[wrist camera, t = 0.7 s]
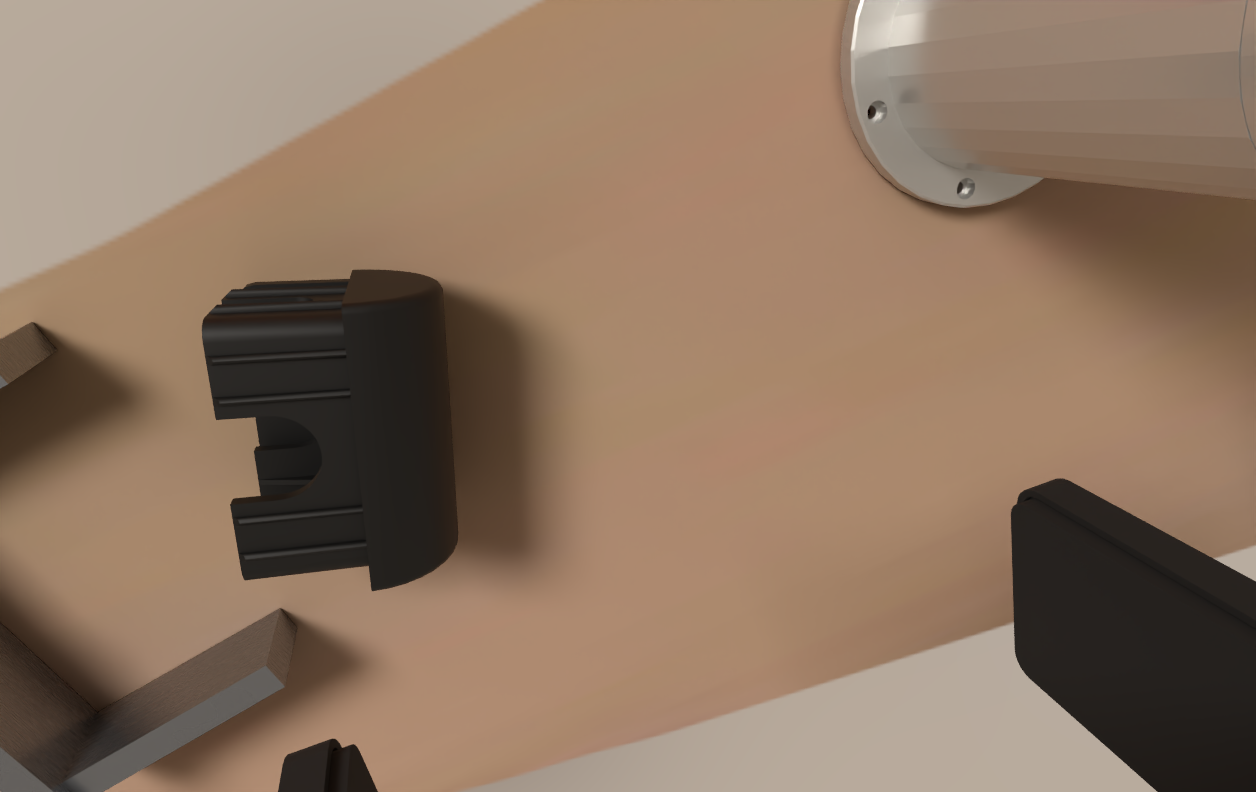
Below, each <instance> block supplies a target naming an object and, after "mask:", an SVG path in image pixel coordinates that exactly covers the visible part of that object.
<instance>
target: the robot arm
mask: <svg viewBox="0 0 1256 792" xmlns="http://www.w3.org/2000/svg"><path fill="white" fill-rule="evenodd" d="M840 72H841V82H842V92H843V100H844V104H845V107H846V111H847V114H848V118H849V121H850V125H851V128H852V130H853V132H854V134H855V137H856V139H857V141H858V143H859V145H860V147H861V149H862V151H863V153H864V154H865V155H866V157H867V158H868V159H869V161H870V162H871V163H872V164H873V166H874V167H875V168H876V169H877V171H878V172H879V173H880V174H881V175H882V176H883V177H884V178H886V179H887V180H888V181H889V182H890V183H892V184H893V185H894V186H895V187H896V188H898V189H899V190H901V191H903V192H905V193H907V194H909V195H911V196H913V197H915V198H917V199H919V200H922V201H927V202H931V203H935V204H940V205H945V206H952V207H960V208H969V207H977V206H985V205H992V204H995V203H998V202H1000V201H1003V200H1006V199H1009V198H1012V197H1015V196H1017V195H1018V194H1020V193H1022V192H1024V191H1025V190H1027V189H1029V188H1031V187H1032V186H1034V185H1036V184H1038V183H1039V182H1040V181H1041V180H1043V179H1044V178H1052V179H1062V180H1071V181H1081V182H1090V183H1100V184H1109V185H1119V186H1128V187H1137V188H1147V189H1156V190H1166V191H1175V192H1185V193H1194V194H1204V195H1213V196H1222V197H1232V198H1241V199H1251V200H1256V0H850V1H849V5H848V10H847V15H846V19H845V24H844V28H843V33H842V44H841V61H840ZM869 108H870V115H869V117H868V112H867V111H868V109H869ZM1011 533H1012V567H1013V602H1014V634H1015V635H1014V636H1015V654H1016V657H1017V660H1018V663H1019V665H1020V667H1021V668H1022V670H1023V671H1024V673H1025V674H1026V675H1027V676H1028V677H1029V678H1030V679H1031V680H1032V681H1033V682H1034V683H1035V684H1037V685H1038V686H1039V687H1040V688H1041V689H1042V690H1043V691H1044V692H1046V693H1047V694H1048V695H1049V696H1050V697H1051V698H1052V699H1053V700H1055V701H1056V702H1057V703H1058V704H1059V705H1060V706H1061V707H1062V708H1064V709H1065V710H1066V711H1067V712H1068V713H1069V714H1070V715H1071V716H1073V717H1074V718H1075V719H1076V720H1077V721H1078V722H1079V723H1081V724H1082V725H1083V726H1084V727H1085V728H1086V729H1087V730H1088V731H1090V732H1091V733H1092V734H1093V735H1094V736H1095V737H1096V738H1098V739H1099V740H1100V741H1101V742H1102V743H1103V744H1104V745H1105V746H1106V747H1108V748H1109V749H1110V750H1111V751H1112V752H1113V753H1114V754H1115V755H1117V756H1118V757H1119V758H1120V759H1121V760H1122V761H1123V762H1125V763H1126V764H1127V765H1128V766H1129V767H1130V768H1131V769H1132V770H1134V771H1135V772H1136V773H1137V774H1138V775H1139V776H1140V777H1141V778H1143V779H1144V780H1145V781H1146V782H1147V783H1148V784H1149V785H1150V786H1152V787H1153V788H1154V789H1155V790H1156V791H1157V792H1256V581H1254V580H1252V579H1250V578H1248V577H1246V576H1244V575H1243V574H1241V573H1239V572H1237V571H1235V570H1233V569H1231V568H1230V567H1228V566H1226V565H1224V564H1222V563H1220V562H1219V561H1217V560H1215V559H1213V558H1211V557H1209V556H1207V555H1206V554H1204V553H1202V552H1200V551H1198V550H1196V549H1194V548H1193V547H1191V546H1189V545H1187V544H1185V543H1183V542H1182V541H1180V540H1178V539H1176V538H1174V537H1172V536H1170V535H1169V534H1167V533H1165V532H1163V531H1161V530H1159V529H1157V528H1156V527H1154V526H1152V525H1150V524H1148V523H1146V522H1145V521H1143V520H1141V519H1139V518H1137V517H1135V516H1133V515H1132V514H1130V513H1128V512H1126V511H1124V510H1122V509H1121V508H1119V507H1117V506H1115V505H1113V504H1111V503H1109V502H1108V501H1106V500H1104V499H1102V498H1100V497H1098V496H1096V495H1095V494H1093V493H1091V492H1089V491H1087V490H1085V489H1084V488H1082V487H1080V486H1078V485H1076V484H1074V483H1072V482H1071V481H1068V480H1065V479H1055V480H1052V481H1049V482H1046V483H1043V484H1041V485H1038V486H1035V487H1032V488H1030V489H1027V490H1024V491H1023V492H1021V493H1020V495H1019V497H1018V501H1017V504H1016V505H1015V506H1013V508H1012V511H1011ZM278 792H378V791H377V789H376V787H375V784H374V782H373V780H372V778H371V776H370V773H369V771H368V769H367V767H366V765H365V762H364V760H363V758H362V756H361V753H360V751H359V750H358V748H357V746H356V745H354V744H352V745H349V746H347V747H344V748H342V747H341V745H340V743H339V742H338V741H337V740H336V739H330V740H327V741H324V742H322V743H319V744H316V745H313V746H310V747H308V748H305V749H302V750H299V751H297V752H294V753H291V754H288V755H287V756H286V757H285V759H284V763H283V767H282V773H281V778H280V784H279V790H278Z"/></svg>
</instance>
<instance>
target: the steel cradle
mask: <svg viewBox="0 0 1256 792" xmlns="http://www.w3.org/2000/svg"><path fill="white" fill-rule="evenodd" d="M56 351H57V350H56V349H55V348H54V346H53V345H52V344H51V343H50V342H49V341H48V340H47V338H46V337H45V336H44V335H43V334H42V333H41V331H40V330H39V329H38V328H37V327H36V326H35V325H34V323H33V322H31V323H29V324H27V325H25V326H24V327H22V328H20V329H18V330H16V331H14V332H12V333H10V334H9V335H7V336H5V337H3V338H1V339H0V388H2V387H4V386H6V385H8V384H9V383H11V382H12V381H14V380H15V379H17V378H18V377H19V376H21V375H22V374H24V373H25V372H27V371H28V370H30V369H31V368H33V367H34V366H35V365H37V364H38V363H40V362H41V361H43V360H44V359H46V358H47V357H49V356H50V355H52V354H53V353H54V352H56ZM296 632H297V627H296V626H295V625H294V624H293V622H292V621H291V620H290V619H289V618H288V617H287V616H286V614H285V613H284V612H283V611H282V610H281V609H278V610H276V611H275V612H273V613H271V614H269V615H268V616H266V617H264V618H262V619H261V620H259V621H257V622H255V623H254V624H252V625H250V626H248V627H247V628H245V629H243V630H241V631H240V632H238V633H236V634H234V635H232V636H231V637H229V638H227V639H225V640H224V641H222V642H220V643H218V644H217V645H215V646H213V647H211V648H210V649H208V650H206V651H204V652H203V653H201V654H199V655H197V656H196V657H194V658H192V659H190V660H189V661H187V662H185V663H183V664H182V665H180V666H178V667H176V668H175V669H173V670H171V671H169V672H168V673H166V674H164V675H162V676H161V677H159V678H157V679H155V680H154V681H152V682H150V683H148V684H146V685H145V686H143V687H141V688H139V689H138V690H136V691H134V692H132V693H131V694H129V695H127V696H125V697H124V698H122V699H120V700H118V701H117V702H115V703H113V704H111V705H110V706H108V707H106V708H104V709H103V710H101V711H99V712H96V711H95V710H94V709H93V708H92V707H91V706H90V705H89V704H88V703H87V702H86V701H84V700H83V699H82V698H81V697H80V696H79V695H78V694H77V693H76V692H75V691H74V690H73V689H71V688H70V687H69V686H68V685H67V684H66V683H65V682H64V681H63V680H62V679H61V678H60V677H59V676H57V675H56V674H55V673H54V672H53V671H52V670H51V669H50V668H49V667H48V666H47V665H46V664H44V663H43V662H42V661H41V660H40V659H39V658H38V657H37V656H36V655H35V654H34V653H33V652H31V651H30V650H29V649H28V648H27V647H26V646H25V645H24V644H23V643H22V642H21V641H20V640H18V639H17V638H16V637H15V636H14V635H13V634H12V633H11V632H10V631H9V630H8V629H7V628H5V627H4V626H3V625H2V624H1V623H0V791H1V792H104V791H105V790H107V789H109V788H111V787H112V786H114V785H116V784H117V783H119V782H121V781H123V780H124V779H126V778H128V777H130V776H131V775H133V774H135V773H136V772H138V771H140V770H142V769H143V768H145V767H147V766H149V765H150V764H152V763H154V762H156V761H157V760H159V759H161V758H162V757H164V756H166V755H168V754H169V753H171V752H173V751H175V750H176V749H178V748H180V747H182V746H183V745H185V744H187V743H188V742H190V741H192V740H194V739H195V738H197V737H199V736H201V735H202V734H204V733H206V732H208V731H209V730H211V729H213V728H214V727H216V726H218V725H220V724H221V723H223V722H225V721H227V720H228V719H230V718H232V717H233V716H235V715H237V714H239V713H240V712H242V711H244V710H246V709H247V708H249V707H251V706H253V705H254V704H256V703H258V702H259V701H261V700H263V699H265V698H266V697H268V696H270V695H272V694H273V693H275V692H277V691H279V690H280V689H282V688H284V687H285V684H286V680H287V675H288V670H289V665H290V661H291V656H292V651H293V646H294V641H295V637H296Z"/></svg>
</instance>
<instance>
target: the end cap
mask: <svg viewBox="0 0 1256 792" xmlns="http://www.w3.org/2000/svg"><path fill="white" fill-rule="evenodd" d="M221 301H222V305H216V306H215V307H214V309H212V310H211V311H210V312H209V313H208V315H207V316H206V317H205V318H204V320H203V324H202V339H203V346H204V352H205V358H206V364H207V370H208V376H209V382H210V388H211V393H212V399H213V405H214V411H215V417H216V420H222V419H236V418H250V417H256V424H257V431H258V437H259V444H260V446H259V447H256V448H255V450H254V454H255V461H256V467H257V474H258V480H259V487H260V493H261V496H256V497H246V498H235V499H233V500H232V502H231V504H230V506H231V512H232V518H233V524H234V530H235V536H236V542H237V548H238V553H239V559H240V565H241V571H242V576H243V578H244V580H252V579H260V578H269V577H277V576H286V575H294V574H303V573H311V572H319V571H328V570H336V569H345V568H353V567H362V566H369V572H370V581H371V590H372V591H376V590H382V589H388V588H392V587H395V586H399V585H402V584H406V583H409V582H411V581H413V580H416V579H418V578H421V577H423V576H425V575H426V574H428V573H430V572H432V571H434V570H435V569H436V568H437V567H439V566H440V565H441V564H443V563H444V562H445V561H446V560H447V559H448V558H449V557H450V555H451V554H452V553H453V551H454V549H455V547H456V545H457V541H458V522H457V507H456V491H455V475H454V459H453V444H452V428H451V412H450V396H449V381H448V365H447V349H446V333H445V318H444V302H443V289H442V287H441V285H440V284H439V283H438V282H437V281H436V280H434V279H433V278H431V277H428V276H425V275H421V274H417V273H411V272H403V271H392V270H352V273H351V276H350V279H336V280H306V281H275V282H255V283H251V284H247V286H246V287H245V288H244V289H233V290H231V291H230V292H229V293H228V294H227V295H226V296H225V297H224V298H223V299H222V300H221Z"/></svg>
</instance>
